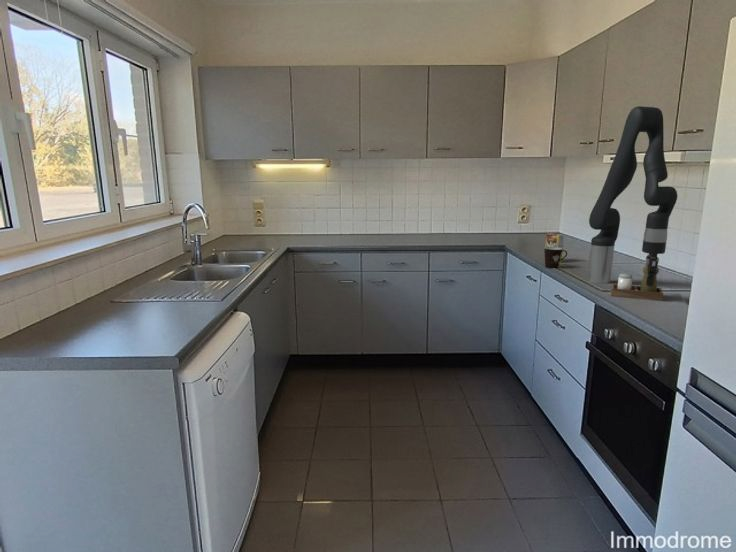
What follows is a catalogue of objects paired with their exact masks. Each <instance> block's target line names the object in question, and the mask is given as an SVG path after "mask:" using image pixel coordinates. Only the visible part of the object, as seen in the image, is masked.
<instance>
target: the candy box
mask: <svg viewBox="0 0 736 552" xmlns="http://www.w3.org/2000/svg"><path fill="white" fill-rule="evenodd" d="M545 236H546V237H545V247H558V248H562V250H564V241H565V240H564V239H565V238H564V237H565V235H563V234H557V233H552V232H551V233H550V232H549V233H546V235H545ZM545 247H544V248H545ZM563 252H564V251H563ZM563 252H561V257H560V259H562V258H563ZM560 262H561V263H562V262H563V260H561V261H560Z"/></svg>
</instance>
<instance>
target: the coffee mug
mask: <svg viewBox="0 0 736 552" xmlns="http://www.w3.org/2000/svg"><path fill="white" fill-rule="evenodd" d="M543 249H544V268H546V269H553V268H555V269H558V268H559V267H560V266H559V265H560V263H559V262H560V261H561V260H562V261H563V260H564V259H565V258H566V257H567V255H568V251H566V250H564V249H563V250H562V248H558V247H543ZM561 252H565V255H564V256H562V259H560V257H561Z"/></svg>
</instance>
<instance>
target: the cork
mask: <svg viewBox="0 0 736 552" xmlns="http://www.w3.org/2000/svg"><path fill="white" fill-rule="evenodd" d="M646 267H647V266H643V269H642V272H643V278H642V280H641V283H640V286H641V287H640V290H639V291H647V292H657V288H658V284H657V282H658V281H657V280H658V279H657V276H658V274H659V271H660V267H658V266H657V270H656V276H654V283H653V286H648V285H647V284H646V283H647V273H648V270H647V269H646ZM650 272H654V270H650Z"/></svg>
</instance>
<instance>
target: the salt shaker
mask: <svg viewBox="0 0 736 552" xmlns="http://www.w3.org/2000/svg"><path fill="white" fill-rule="evenodd" d="M617 280H618V281H617V284H618V287H617V289H625V290H631V287H632V286H633V274H631V273H625V272H623V273H622V272H621V273H619V275H618V279H617Z"/></svg>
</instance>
